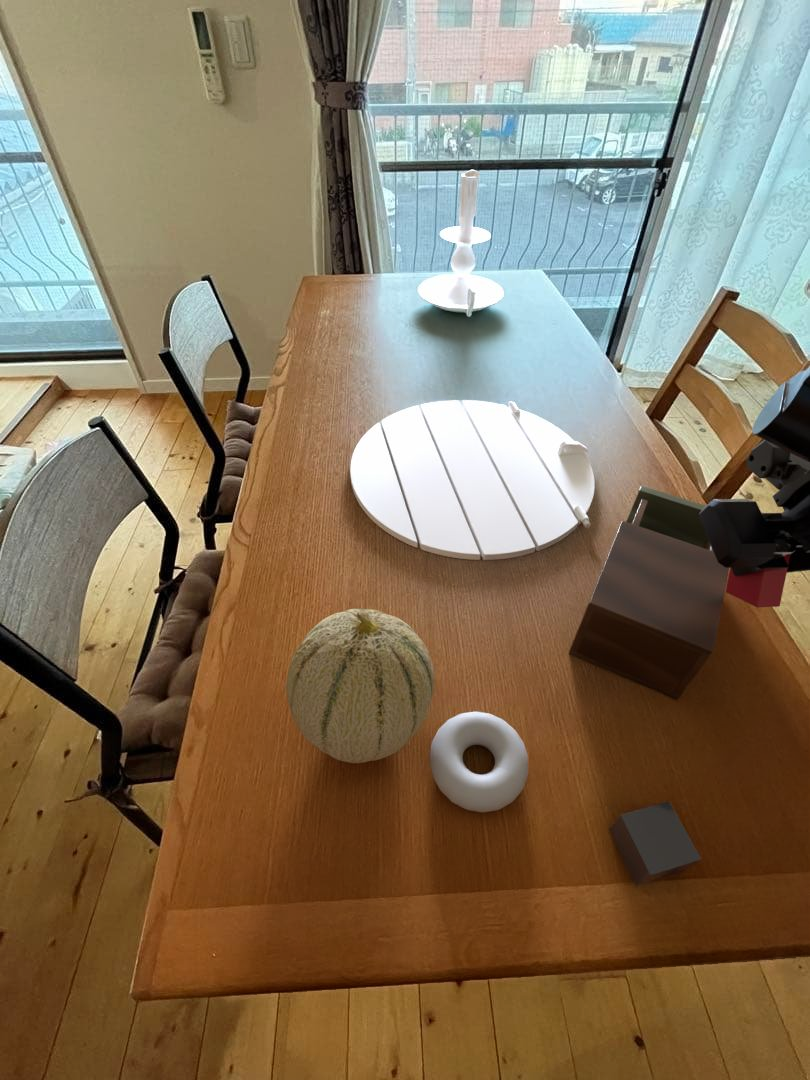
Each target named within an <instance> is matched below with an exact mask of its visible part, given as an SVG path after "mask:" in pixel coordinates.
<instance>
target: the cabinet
mask: <svg viewBox="0 0 810 1080" xmlns="http://www.w3.org/2000/svg"><path fill="white" fill-rule="evenodd" d="M729 572H730V568H726V567H724V566H723V565H721V564H720V563H718V561H717V559H716V556H715V554H714V552H713V551H710V550H707V549H704V548H701V547H699V546H696V545H693V544H690V543H687V542H684V541H681V540H678V539H675V538H672V537H669V536H666V535H663V534H660V533H657V532H654V531H651V530H648V529H646V528H643V527H640V526H637V525H634V524H631V523H628V522H626V521H625V520H621V521H620V524H619V527H618V529H617V532H616V534H615V537H614V539H613V541H612V544H611V547H610V548H609V551H608V554H607V557H606V559H605V561H604V564H603V566H602V569H601V571H600V573H599V576H598V579H597V581H596V584H595V586H594V588H593V590H592V591H593V592H592V594H591V596H590V598H589V601H588V604H587V606H586V608H585V612H584V613H583V616H582V619H581V621H580V623H579V626H578V629H577V630H576V633H575V636H574V638H573V641H572V643H571V646H570V649H569V651H568V655H570V656H572V657H575V658H577V659H579V660H582V661H584V662H586V663H589V664H591V665H593V666H595V667H598V668H599V669H603V670H605V671H607V672H609V673H612V674H614V675H617V676H619V677H621V678H624V679H626V680H628V681H630V682H633V683H636V684H637V685H640V686H642V687H644V688H646V689H649V690H651V691H654V692H656V693H658V694H660V695H663V696H665V697H667V698H670V699H672V700H674V701H678V699H679V698H680V697H681V696H682V695H683V693H684V692H685V691H686V689H687V688H688V686H690V684H691V682H692V681H693V680H694V679H695V677H696V676H697V674H698V673H699V672H700V670H701V669H702V668H703V666H704V665H705V663H706V662H707V661H708V660H709V658H710V657H711V655H712V654H713V653H714V649H715V645H716V639H717V634H718V629H719V624H720V618H721V614H722V608H723V603H724V597H725V593H726V588H727V583H728V577H729Z"/></svg>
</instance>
